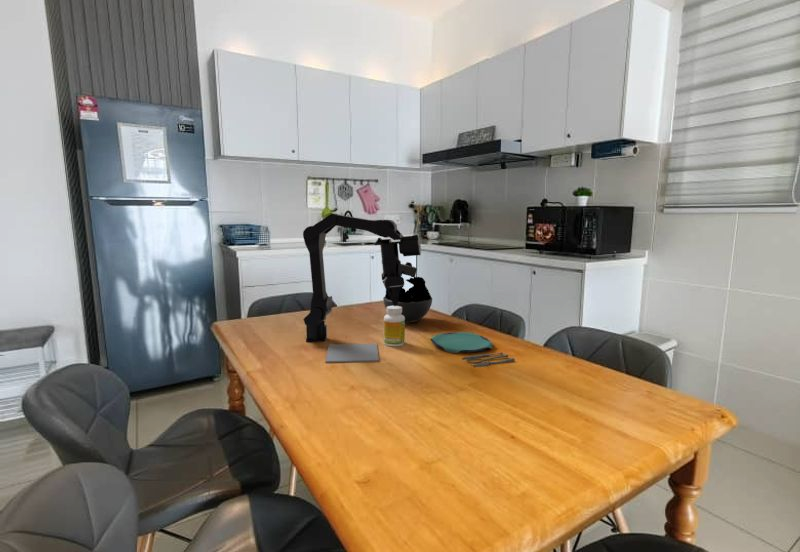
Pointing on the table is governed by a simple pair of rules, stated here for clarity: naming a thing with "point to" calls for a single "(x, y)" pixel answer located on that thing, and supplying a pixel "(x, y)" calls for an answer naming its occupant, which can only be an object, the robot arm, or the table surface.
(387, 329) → the supplement bottle
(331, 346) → the grey mat
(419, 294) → the coal bowl
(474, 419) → the table surface
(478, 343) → the cutlery set
